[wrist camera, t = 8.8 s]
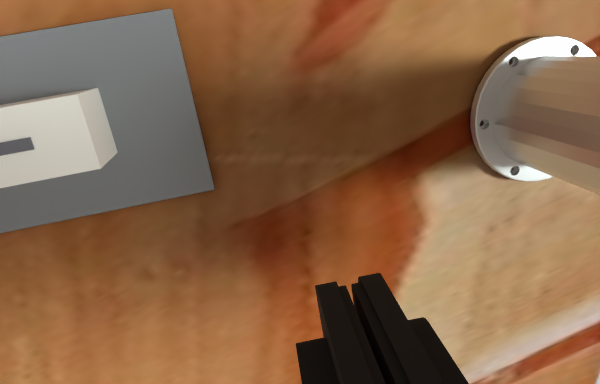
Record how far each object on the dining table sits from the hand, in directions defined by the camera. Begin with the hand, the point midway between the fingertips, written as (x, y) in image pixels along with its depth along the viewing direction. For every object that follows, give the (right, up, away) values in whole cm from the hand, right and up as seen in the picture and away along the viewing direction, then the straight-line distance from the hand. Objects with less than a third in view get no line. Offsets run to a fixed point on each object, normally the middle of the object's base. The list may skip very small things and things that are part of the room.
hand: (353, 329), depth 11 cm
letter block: (-15, +8, +21) cm, 27 cm away
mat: (-18, +9, +23) cm, 31 cm away
